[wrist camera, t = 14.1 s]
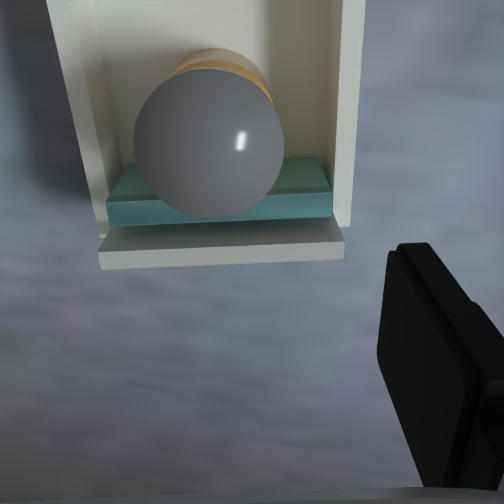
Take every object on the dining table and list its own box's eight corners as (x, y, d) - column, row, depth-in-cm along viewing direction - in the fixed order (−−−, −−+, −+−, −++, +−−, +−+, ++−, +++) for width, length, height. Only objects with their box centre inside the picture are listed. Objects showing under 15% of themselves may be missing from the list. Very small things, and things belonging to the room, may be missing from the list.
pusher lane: (336, 196, 30) (363, 258, 23) (117, 206, 30) (81, 270, 23) (351, -93, 23) (398, -126, 16) (61, -79, 23) (-17, -107, 16)
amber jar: (274, 157, 28) (285, 214, 21) (169, 162, 28) (145, 221, 21) (272, 43, 25) (283, 66, 18) (154, 49, 25) (120, 74, 18)
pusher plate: (316, 176, 28) (331, 216, 23) (132, 184, 28) (109, 226, 23) (316, 155, 28) (332, 192, 23) (129, 163, 28) (105, 202, 23)
